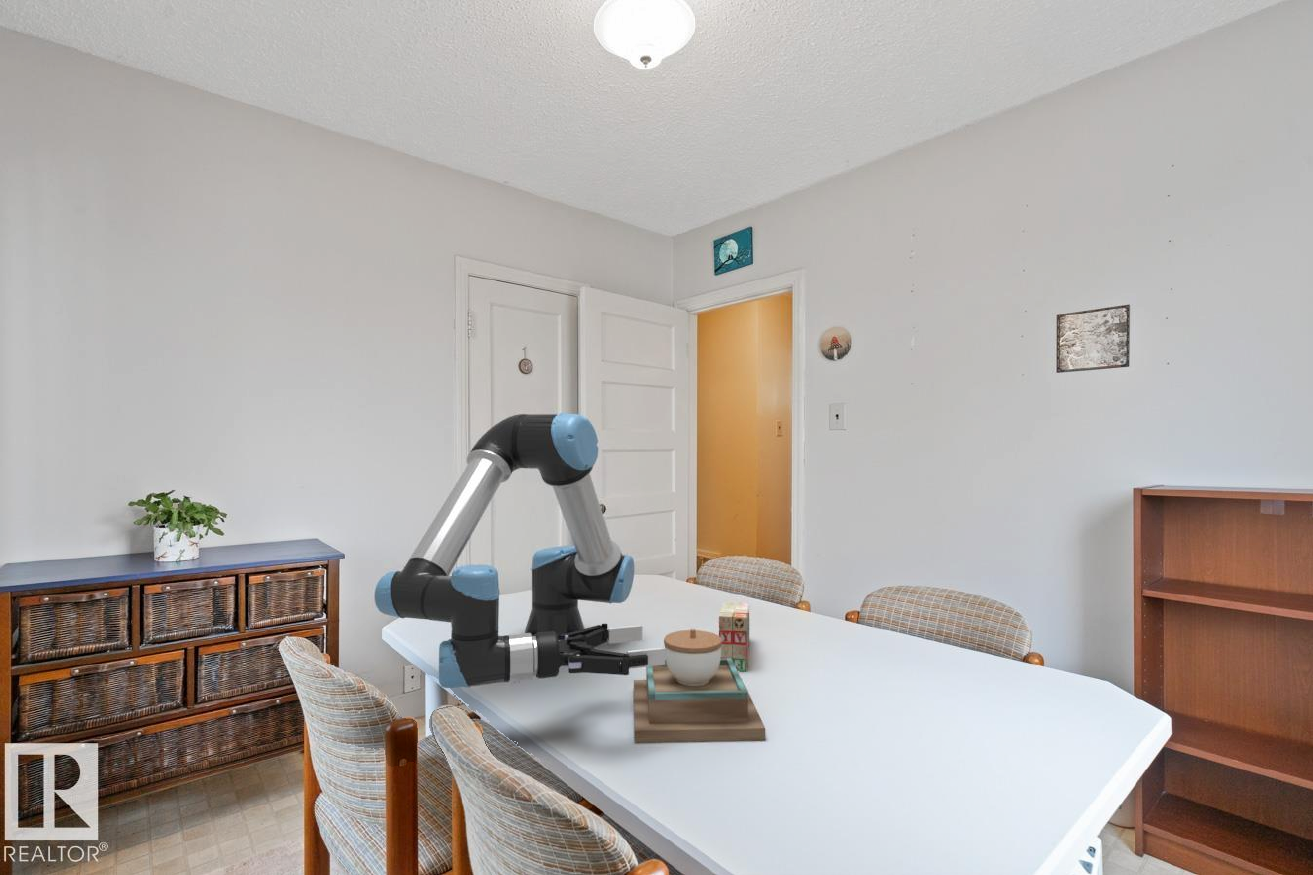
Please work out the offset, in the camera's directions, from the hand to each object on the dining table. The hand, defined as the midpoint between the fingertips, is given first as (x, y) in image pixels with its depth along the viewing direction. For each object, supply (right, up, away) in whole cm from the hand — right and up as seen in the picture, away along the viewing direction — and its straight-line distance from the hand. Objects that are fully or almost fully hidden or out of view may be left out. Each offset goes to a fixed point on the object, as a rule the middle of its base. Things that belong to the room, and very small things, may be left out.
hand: (652, 643), depth 112 cm
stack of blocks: (+19, -14, +34) cm, 41 cm away
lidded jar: (+7, -8, +2) cm, 11 cm away
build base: (+8, -14, +2) cm, 16 cm away
